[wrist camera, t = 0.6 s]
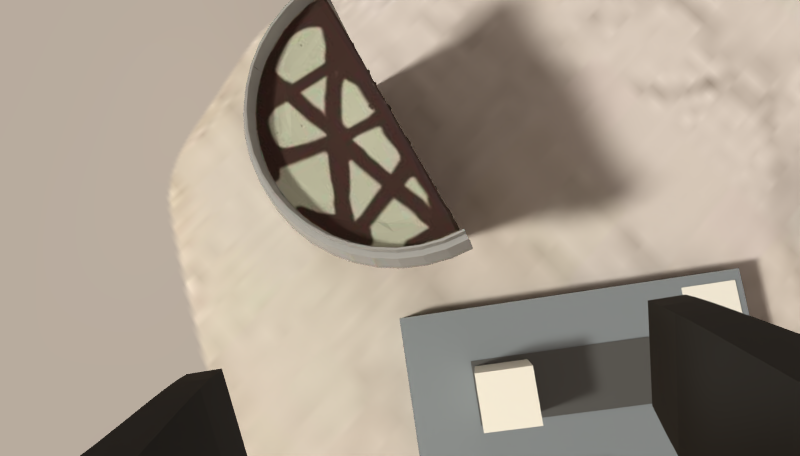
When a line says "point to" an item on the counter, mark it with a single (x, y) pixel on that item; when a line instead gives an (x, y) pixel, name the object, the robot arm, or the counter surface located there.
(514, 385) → the tab
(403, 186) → the food container
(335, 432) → the counter surface
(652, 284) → the switch board
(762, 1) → the counter surface
